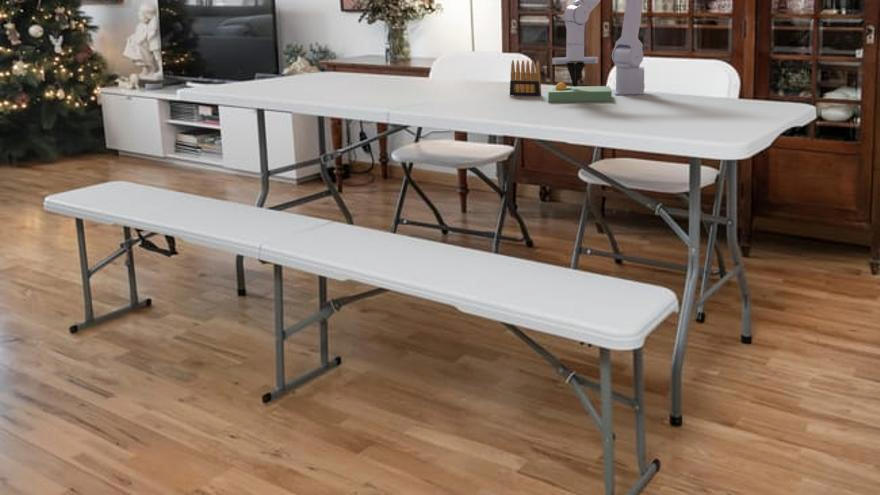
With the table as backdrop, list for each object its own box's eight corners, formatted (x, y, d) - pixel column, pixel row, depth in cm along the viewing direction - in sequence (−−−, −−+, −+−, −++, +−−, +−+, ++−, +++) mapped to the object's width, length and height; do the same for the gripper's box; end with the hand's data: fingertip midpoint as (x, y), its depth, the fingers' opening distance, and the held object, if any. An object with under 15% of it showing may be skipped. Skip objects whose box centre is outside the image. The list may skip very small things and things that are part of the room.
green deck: (609, 96, 331) (609, 86, 330) (611, 101, 317) (611, 91, 316) (548, 96, 333) (548, 86, 332) (548, 102, 320) (548, 92, 319)
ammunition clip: (541, 95, 337) (541, 59, 333) (539, 96, 335) (539, 60, 332) (511, 95, 341) (511, 59, 337) (509, 95, 339) (509, 60, 336)
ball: (553, 91, 326) (563, 94, 326) (555, 92, 323) (566, 94, 323) (556, 81, 325) (566, 83, 326) (558, 81, 322) (568, 83, 322)
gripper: (596, 42, 324) (595, 84, 328) (551, 43, 324) (551, 85, 328) (599, 43, 317) (598, 86, 321) (553, 44, 318) (553, 87, 321)
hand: (574, 86), depth 324 cm, fingers closed
